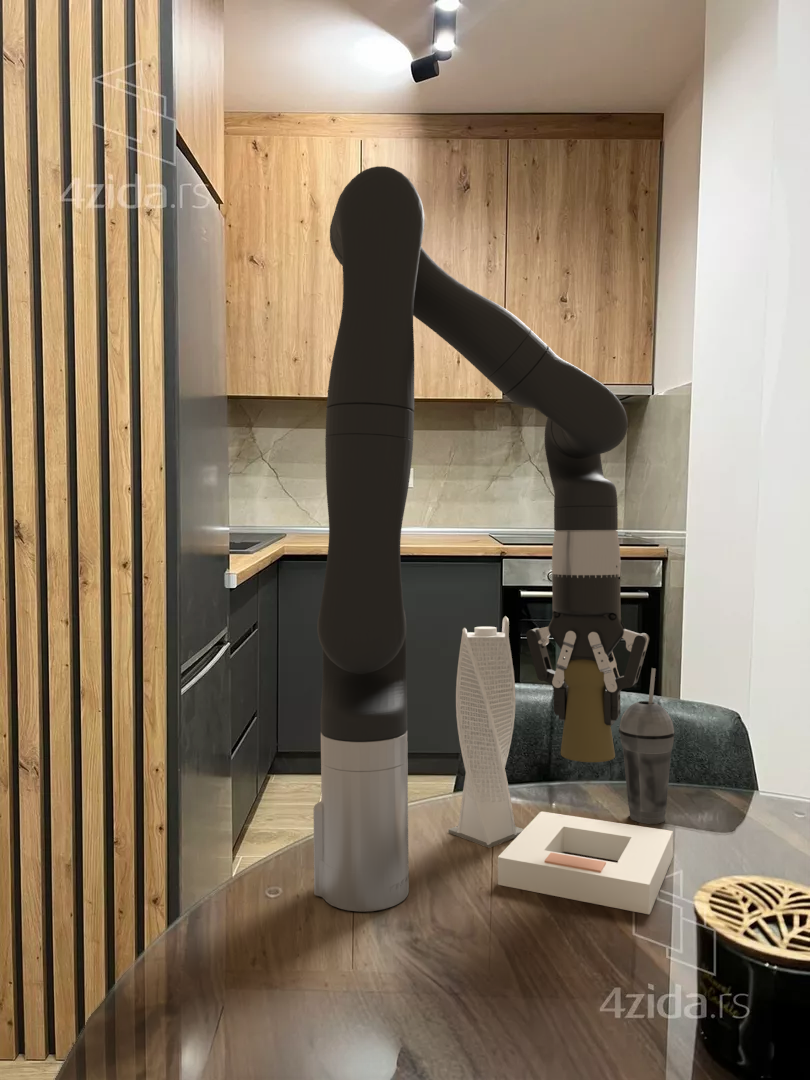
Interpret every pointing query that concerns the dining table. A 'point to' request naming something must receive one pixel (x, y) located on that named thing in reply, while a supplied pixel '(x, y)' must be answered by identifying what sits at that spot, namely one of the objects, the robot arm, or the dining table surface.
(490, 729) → the skyscraper
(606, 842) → the hole board
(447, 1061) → the dining table surface
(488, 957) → the dining table surface
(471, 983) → the dining table surface
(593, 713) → the cork
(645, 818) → the beverage cup
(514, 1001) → the dining table surface
